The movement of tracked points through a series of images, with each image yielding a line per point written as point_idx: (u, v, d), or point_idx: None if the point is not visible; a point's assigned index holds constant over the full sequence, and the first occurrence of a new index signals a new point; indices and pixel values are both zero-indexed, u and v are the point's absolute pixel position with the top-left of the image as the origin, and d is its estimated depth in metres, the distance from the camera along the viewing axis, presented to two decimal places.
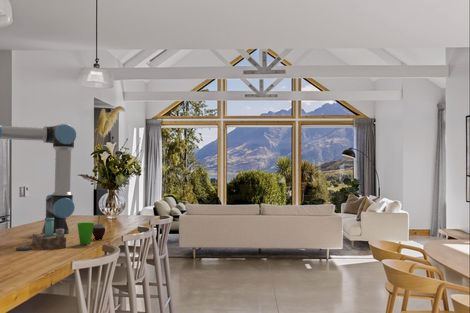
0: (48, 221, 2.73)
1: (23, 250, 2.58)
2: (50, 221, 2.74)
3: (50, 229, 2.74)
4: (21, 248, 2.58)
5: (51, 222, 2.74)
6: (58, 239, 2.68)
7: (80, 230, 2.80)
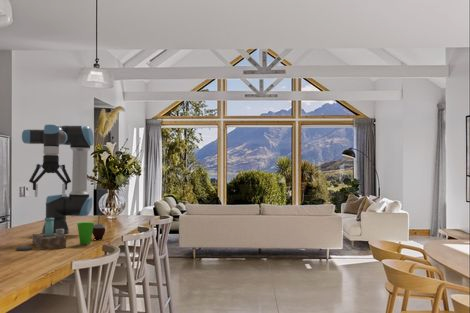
0: (48, 221, 2.73)
1: (23, 250, 2.58)
2: (50, 221, 2.74)
3: (50, 229, 2.74)
4: (21, 248, 2.58)
5: (51, 222, 2.74)
6: (58, 239, 2.68)
7: (80, 230, 2.80)
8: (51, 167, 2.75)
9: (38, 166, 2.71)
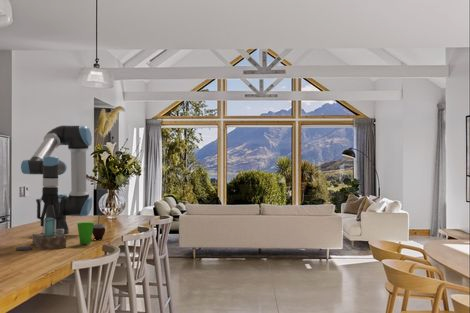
0: (48, 221, 2.73)
1: (23, 250, 2.58)
2: (50, 221, 2.74)
3: (50, 229, 2.74)
4: (21, 248, 2.58)
5: (51, 222, 2.74)
6: (58, 239, 2.68)
7: (80, 230, 2.80)
8: (51, 198, 2.75)
9: (38, 201, 2.71)
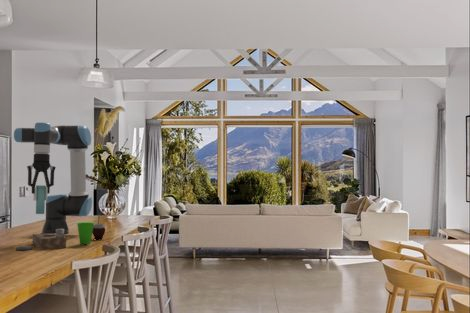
0: (39, 188, 2.68)
1: (23, 250, 2.58)
2: (41, 188, 2.68)
3: (41, 196, 2.68)
4: (21, 248, 2.58)
5: (42, 189, 2.69)
6: (58, 239, 2.68)
7: (80, 230, 2.80)
8: (42, 165, 2.69)
9: (29, 168, 2.66)
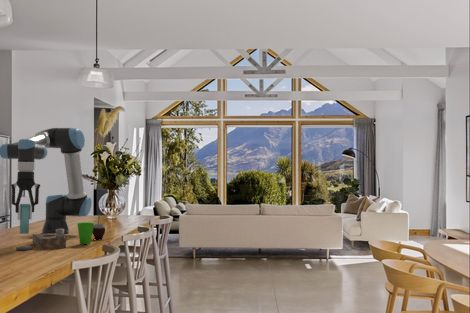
0: (23, 207, 2.59)
1: (23, 250, 2.58)
2: (25, 207, 2.60)
3: (25, 215, 2.60)
4: (21, 248, 2.58)
5: (26, 208, 2.60)
6: (58, 239, 2.68)
7: (80, 230, 2.80)
8: (26, 183, 2.61)
9: (13, 186, 2.58)
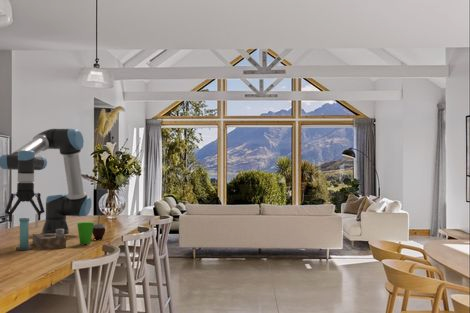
0: (23, 221, 2.59)
1: (23, 250, 2.58)
2: (25, 221, 2.60)
3: (25, 230, 2.60)
4: (21, 248, 2.58)
5: (26, 222, 2.60)
6: (58, 239, 2.68)
7: (80, 230, 2.80)
8: (26, 195, 2.61)
9: (12, 196, 2.57)
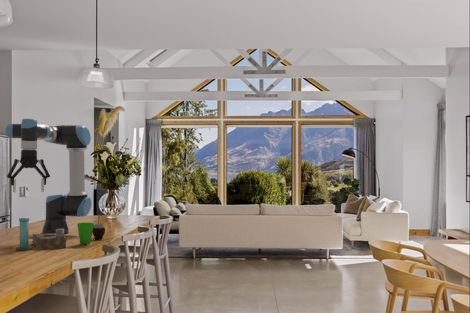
0: (22, 222, 2.59)
1: (23, 250, 2.58)
2: (25, 222, 2.60)
3: (25, 230, 2.60)
4: (21, 248, 2.58)
5: (26, 223, 2.60)
6: (58, 239, 2.68)
7: (80, 230, 2.80)
8: (29, 162, 2.71)
9: (16, 161, 2.67)
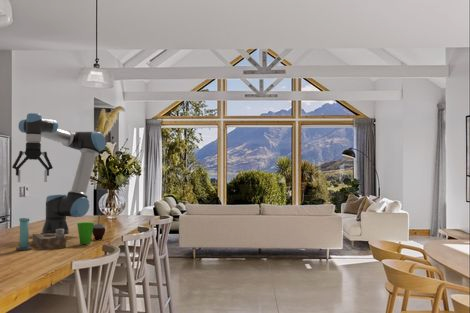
0: (23, 222, 2.59)
1: (23, 250, 2.58)
2: (25, 222, 2.60)
3: (25, 230, 2.60)
4: (21, 248, 2.58)
5: (26, 223, 2.60)
6: (58, 239, 2.68)
7: (80, 230, 2.80)
8: (33, 154, 2.89)
9: (21, 153, 2.85)
